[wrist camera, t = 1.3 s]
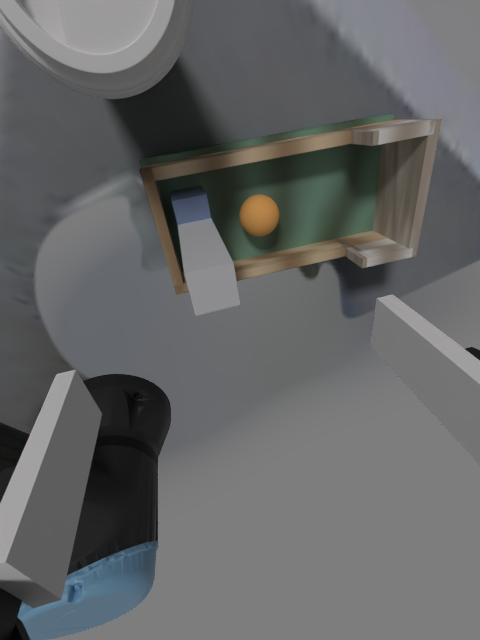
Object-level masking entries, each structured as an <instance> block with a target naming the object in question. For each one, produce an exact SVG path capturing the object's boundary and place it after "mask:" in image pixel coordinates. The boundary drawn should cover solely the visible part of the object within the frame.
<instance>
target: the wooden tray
mask: <svg viewBox="0 0 480 640" xmlns="http://www.w3.org/2000/svg"><path fill="white" fill-rule="evenodd" d="M393 116H394V114H384V115H378V116H373V117H367V118H362V119H356V120H351V121H345V122H340V123H334V124H329V125H324V126H318V127H313V128H307V129H302V130H296V131H291V132H285V133H280V134H274V135H269V136H263V137H258V138H253V139H247V140H242V141H236V142H231V143H225V144H220V145H214V146H209V147H203V148H198V149H192V150H187V151H182V152H176V153H171V154H165V155H160V156H154V157H149V158H143V159H141V160H140V162H141V166H142V167H141V169H140V174H141V177H142V180H143V184H144V187H145V190H146V194H147V197H148V200H149V204H150V207H151V211H152V214H153V217H154V221H155V224H156V227H157V231H158V234H159V238H160V241H161V244H162V248H163V251H164V254H165V258H166V261H167V264H168V268H169V271H170V275H171V277H172V281H173V285H174V288H175V291H176V294H180V293H185V292H189V290H188V286H187V282H186V279H185V275H184V269H183V261H182V254H181V246H180V239H179V231H178V224H177V221H176V217H175V213H174V209H173V205H172V201H171V191H176V190H181V189H186V188H191V187H196V186H202V188H203V189H204V191H205V193H206V194H207V199H208V204H209V209H210V215H211V219H212V221H213V223H214V225H215V227H216V229H217V231H218V233H219V235H220V237H221V239H222V241H223V243H224V245H225V247H226V249H227V251H228V253H229V255H230V257H231V259H232V261H233V263H234V269H235V275H236V281H238V280H242V279H247V278H251V277H255V276H260V275H264V274H269V273H273V272H278V271H282V270H287V269H291V268H296V267H300V266H304V265H309V264H313V263H318V262H322V261H327V260H331V259H335V258H340V257H344V256H346V257H347V258H348V259H350V260H351V261H352V262H354V263H355V264H357V265H358V266H359V267H361V268H366V267H371V266H375V265H379V264H384V263H388V262H392V261H397V260H401V259H405V258H410V257H414V256H416V254H417V248H418V243H419V238H420V232H421V227H422V222H423V216H424V211H425V206H426V200H427V195H428V190H429V184H430V179H431V174H432V168H433V163H434V158H435V152H436V147H437V142H438V136H439V131H440V126H441V120H442V119H414V120H393ZM258 194H262V195H266V196H268V197H270V198H272V199H273V200H274V201H275V203H276V204H277V207H278V209H279V221H278V224H277V226H276V227H275V229H274V230H273V231H272V232H271V233H269V234H267V235H265V236H253V235H250V234H249V233H247V232H246V231H245V230H244V229H243V227H242V225H241V223H240V219H239V213H240V209H241V206H242V204H243V203H244V202H245V200H246V199H248V198H249V197H251V196H253V195H258Z"/></svg>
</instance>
